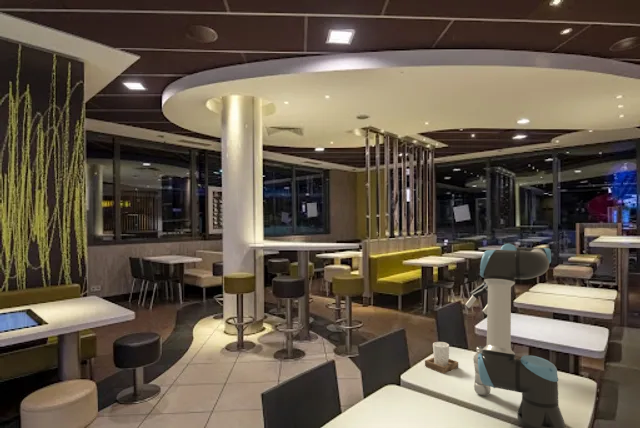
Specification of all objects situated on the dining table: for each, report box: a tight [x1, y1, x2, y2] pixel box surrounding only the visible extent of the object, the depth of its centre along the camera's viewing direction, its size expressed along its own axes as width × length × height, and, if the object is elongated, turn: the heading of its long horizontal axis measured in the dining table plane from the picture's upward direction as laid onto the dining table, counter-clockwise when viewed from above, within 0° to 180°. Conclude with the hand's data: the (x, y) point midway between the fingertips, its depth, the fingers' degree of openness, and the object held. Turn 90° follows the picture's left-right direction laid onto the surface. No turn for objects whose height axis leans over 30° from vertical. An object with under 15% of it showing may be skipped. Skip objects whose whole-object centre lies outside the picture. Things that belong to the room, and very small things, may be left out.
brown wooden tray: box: [424, 357, 459, 375], centre depth 193 cm, size 12×12×3 cm
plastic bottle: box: [472, 345, 491, 397], centre depth 164 cm, size 6×7×20 cm
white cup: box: [432, 341, 450, 367], centre depth 193 cm, size 8×8×10 cm
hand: (475, 309), depth 194 cm, fingers open, 13 cm apart
